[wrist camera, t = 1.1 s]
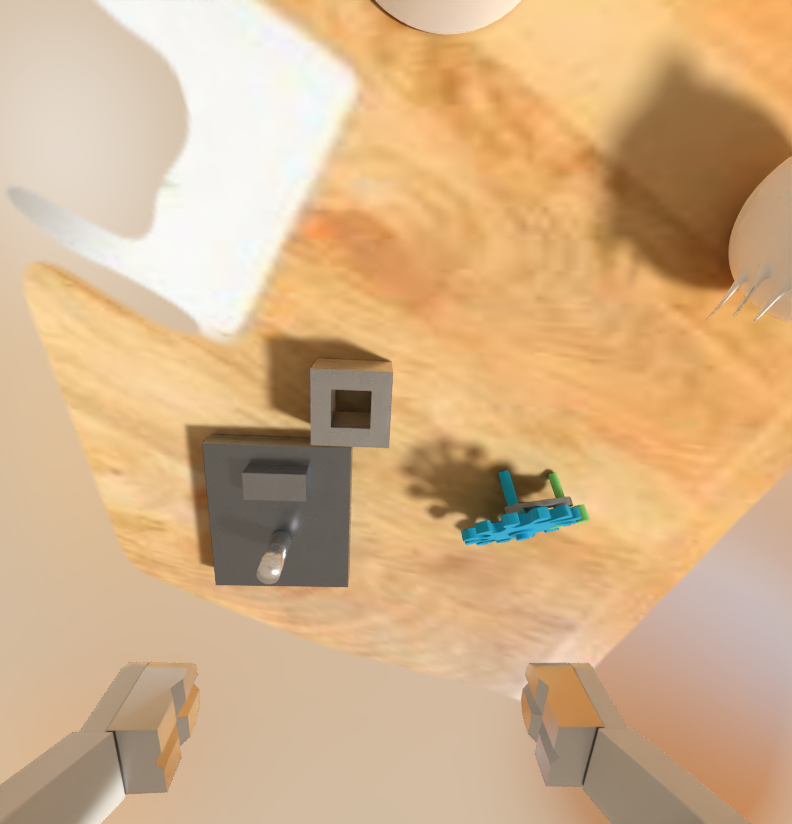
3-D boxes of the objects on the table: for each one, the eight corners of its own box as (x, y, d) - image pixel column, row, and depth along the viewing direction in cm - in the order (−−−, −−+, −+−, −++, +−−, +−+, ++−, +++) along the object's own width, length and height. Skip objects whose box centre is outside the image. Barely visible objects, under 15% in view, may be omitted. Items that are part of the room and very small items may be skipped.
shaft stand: (211, 434, 35) (176, 467, 29) (352, 439, 36) (347, 472, 30) (223, 570, 40) (195, 624, 34) (349, 572, 40) (344, 625, 34)
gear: (452, 556, 38) (483, 536, 30) (439, 495, 41) (464, 458, 32) (562, 539, 40) (621, 515, 31) (543, 481, 43) (593, 443, 34)
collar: (317, 357, 34) (310, 368, 30) (391, 361, 34) (393, 372, 30) (317, 427, 36) (310, 445, 32) (387, 429, 36) (388, 447, 32)
